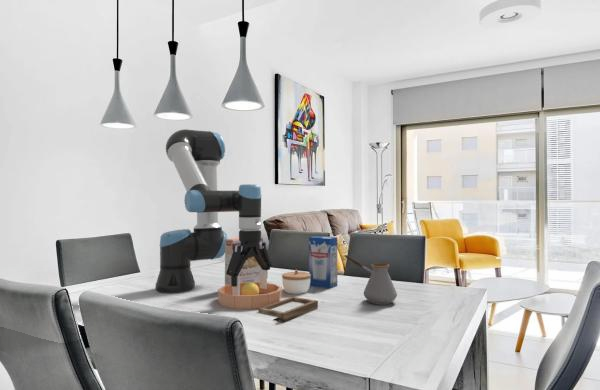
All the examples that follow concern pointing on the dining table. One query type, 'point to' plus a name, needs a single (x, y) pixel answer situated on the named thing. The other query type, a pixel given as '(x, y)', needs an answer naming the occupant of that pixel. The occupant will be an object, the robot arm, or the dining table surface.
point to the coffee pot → (378, 284)
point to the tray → (293, 312)
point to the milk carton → (323, 261)
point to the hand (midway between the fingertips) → (250, 292)
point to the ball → (250, 289)
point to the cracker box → (249, 269)
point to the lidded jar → (296, 282)
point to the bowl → (249, 297)
